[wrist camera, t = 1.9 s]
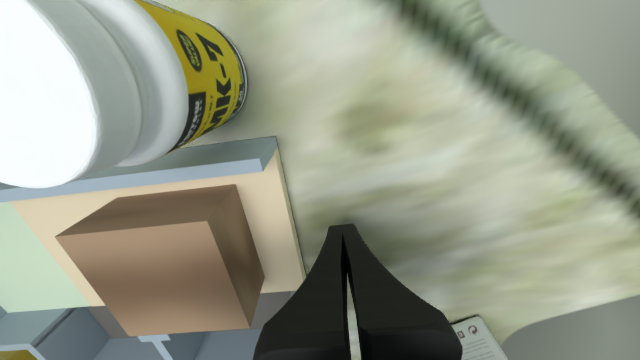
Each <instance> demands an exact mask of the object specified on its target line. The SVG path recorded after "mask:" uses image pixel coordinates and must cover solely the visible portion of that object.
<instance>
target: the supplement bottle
mask: <svg viewBox="0 0 640 360" xmlns="http://www.w3.org/2000/svg"><path fill="white" fill-rule="evenodd" d="M246 92H247V77H246V71H245V67H244V64H243V61H242V58H241V56H240V54H239V52H238V50H237V49H236V47H235V46H234V45H233V43H232V42H231V41H230V40H229V39H228V38H227V37H226V36H225V35H224V34H223V33H222V32H221V31H219V30H218V29H217V28H215V27H214V26H212V25H210V24H208V23H206V22H204V21H202V20H199V19H197V18H194V17H192V16H189V15H187V14H184V13H182V12H179V11H177V10H174V9H172V8H169V7H167V6H165V5H162V4H159V3H157V2H155V1H152V0H0V182H1V183H5V184H8V185H13V186H18V187H26V188H51V187H57V186H61V185H65V184H68V183H71V182H74V181H76V180H79V179H81V178H83V177H86V176H88V175H91V174H94V173H96V172H99V171H101V170H105V169H108V168H111V167H113V166H119V167H126V166H136V165H141V164H145V163H148V162H151V161H154V160H157V159H159V158H161V157H163V156H165V155H167V154H169V153H170V152H172V151H174V150H176V149H178V148H180V147H181V146H183V145H185V144H187V143H189V142H191V141H193V140H194V139H196V138H198V137H200V136H202V135H203V134H205V133H207V132H209V131H211V130H213V129H215V128H217V127H218V126H221V125H223V124H224V123H226V122H227V121H229V120H230V119H231V118H233V117H234V116H235V115H236V114H237V113H238V111H239V110H240V108H241V107H242V105H243V103H244V100H245V97H246Z"/></svg>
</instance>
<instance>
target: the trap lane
mask: <svg viewBox="0 0 640 360" xmlns="http://www.w3.org/2000/svg"><path fill="white" fill-rule="evenodd" d="M230 184H236V187H237V190H238V193H239V196H240V199H241V203H242V206H243V209H244V212H245V215H246V219H247V222H248V225H249V228H250V231H251V234H252V238H253V241H254V244H255V247H256V250H257V253H258V257H259V260H260V263H261V266H262V269H263V273H264V276H265V278H264V282H263V285H262V289H261V292H260V296H259V299H258V302H257V306H256V309H255V313H254V316H253V320H252V323H251V327H250V328H247V329H232V330H217V331H203V332H188V333H173V334H158V335H144V336H128V334H127V333H126V332H125V330H124V329H123V328H122V326H121V325H120V324H119V322H118V321H117V320H116V318H115V317H114V316H113V314H112V313H111V312H110V310H109V309H108V308H107V306H106V305H105V304H104V302H103V301H102V300H101V298H100V297H99V296H98V294H97V293H96V292H95V290H94V289H93V288H92V286H91V285H90V284H89V282H88V281H87V280H86V278H85V277H84V276H83V274H82V273H81V272H80V270H79V269H78V268H77V266H76V265H75V264H74V262H73V261H72V260H71V258H70V257H69V256H68V254H67V253H66V252H65V250H64V249H63V248H62V246H61V245H60V244H59V242H58V241H57V240H56V238H55V236H56V235H58V234H60V233H61V232H63V231H64V230H66V229H68V228H69V227H71V226H72V225H74V224H76V223H77V222H79V221H80V220H82V219H84V218H85V217H87V216H88V215H90V214H92V213H93V212H95V211H96V210H98V209H100V208H101V207H103V206H104V205H106V204H107V203H109V202H111V201H112V200H114V199H115V198H117V197H126V196H134V195H143V194H152V193H160V192H169V191H178V190H187V189H195V188H204V187H213V186H222V185H230ZM305 278H306V275H305V270H304V266H303V261H302V256H301V252H300V247H299V243H298V238H297V233H296V229H295V224H294V219H293V215H292V210H291V205H290V201H289V196H288V192H287V187H286V182H285V178H284V173H283V168H282V164H281V159H280V155H279V150H278V145H277V141H276V136H272V137H265V138H257V139H249V140H241V141H233V142H226V143H218V144H210V145H202V146H195V147H187V148H179V149H176V150H174V151H172V152H170V153H169V154H167V155H165V156H163V157H161V158H159V159H157V160H154V161H151V162H148V163H145V164H141V165H136V166H126V167H119V166H113V167H111V168H108V169H105V170H101V171H99V172H96V173H94V174H91V175H88V176H86V177H83V178H81V179H79V180H76V181H74V182H71V183H68V184H65V185H61V186H57V187H51V188H26V187H18V186H13V185H8V184H5V183H1V182H0V351H14V350H28V351H29V352H30V353H31V354H32V355H33V356H34V357H36V358H37V359H38V360H253V356H254V351H255V347H256V344H257V341H258V339H259V336H260V333H261V331H262V328H263V326H264V324H265V323H266V322H267V321H268V320H270V319H271V318H272V317H273V316H274V315H275V314H276V313H277V312H278V311H279V310H280V309H281V308H282V307H283V306H284V305H285V303H286V302H287V301H288V300H289V299H290V298H291V297H292V296H293V294H294V293H295V292H296V291H297V289H298V288H299V287H300V285H301V284H302V283H303V281H304V280H305Z"/></svg>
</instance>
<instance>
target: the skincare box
mask: <svg viewBox="0 0 640 360" xmlns="http://www.w3.org/2000/svg"><path fill="white" fill-rule="evenodd" d="M451 326H452V327H453V329H454V331H455V332H456V334H457V336H458V338H459V340H460V342H461V344H462V346H463V354H462V359H461V360H508V358H507V357H506V355H505V354H504V352H503V351H502V349H501V347H500V346H499V344H498V343H497V341H496V340H495V338H494V337H493V335H492V334H491V332H490V331H489V329H488V328H487V326H486V324H485V323H484V321H483V320H482V318H481V317H473V318H470V319H467V320H465V321H463V322H460V323H457V324H453V325H451Z"/></svg>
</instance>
